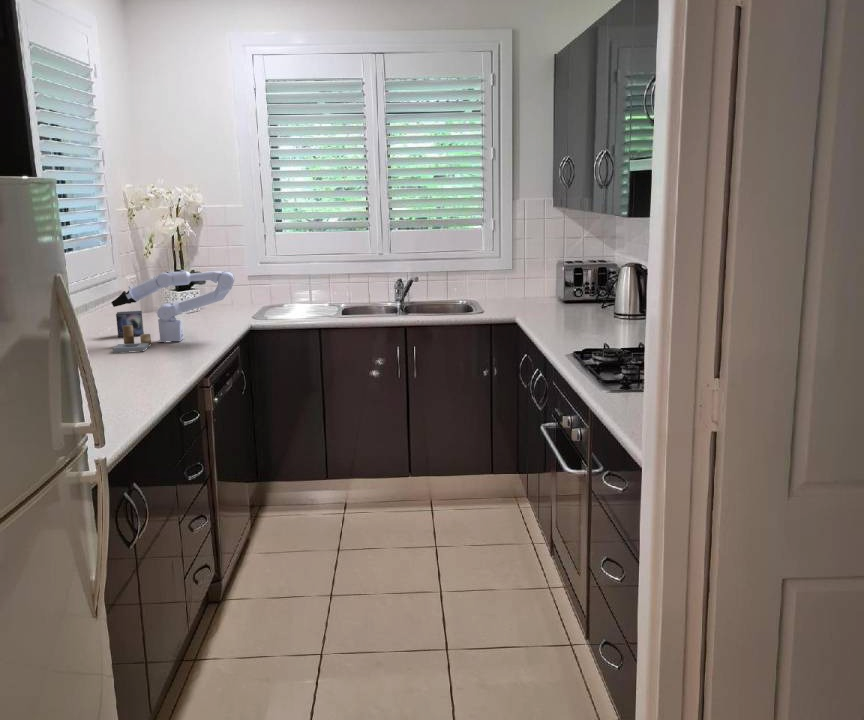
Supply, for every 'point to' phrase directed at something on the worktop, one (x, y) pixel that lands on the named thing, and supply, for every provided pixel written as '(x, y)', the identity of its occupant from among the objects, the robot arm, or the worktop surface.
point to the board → (130, 347)
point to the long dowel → (128, 334)
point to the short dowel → (145, 338)
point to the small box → (130, 322)
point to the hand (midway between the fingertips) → (114, 304)
